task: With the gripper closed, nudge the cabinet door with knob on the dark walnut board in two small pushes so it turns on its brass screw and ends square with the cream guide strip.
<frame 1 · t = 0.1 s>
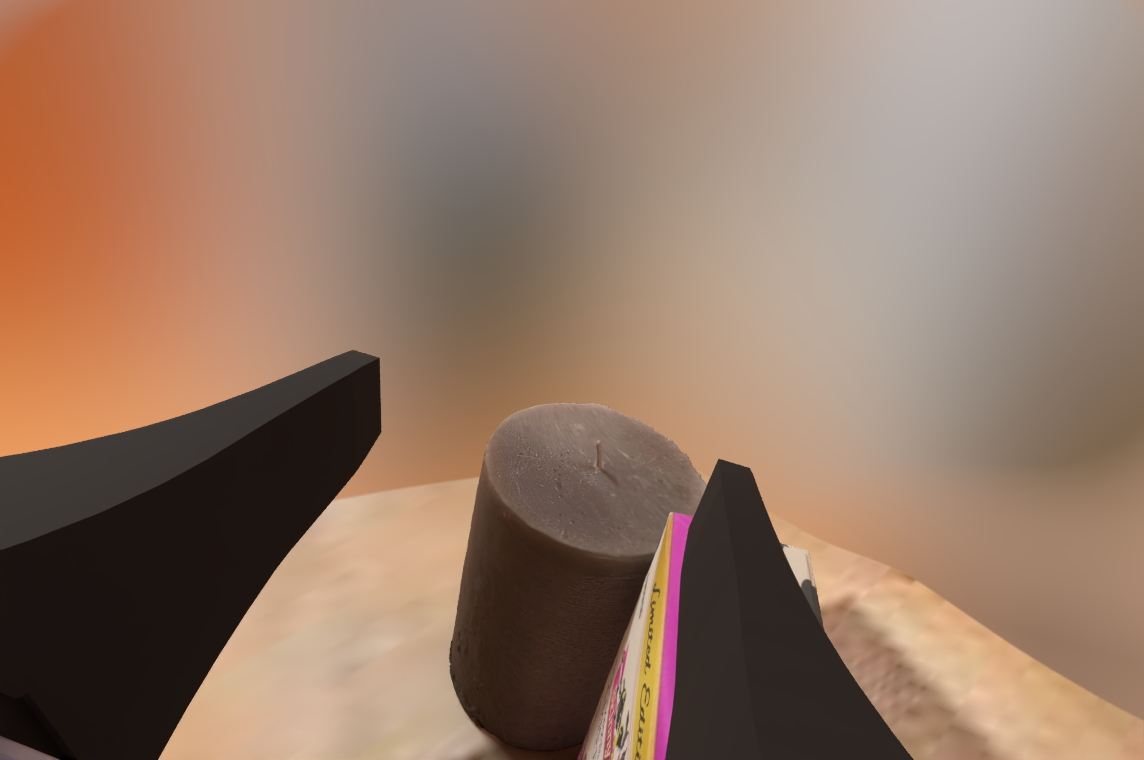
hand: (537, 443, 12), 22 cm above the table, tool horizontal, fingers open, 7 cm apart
pillar candle: (541, 658, 32), on the table
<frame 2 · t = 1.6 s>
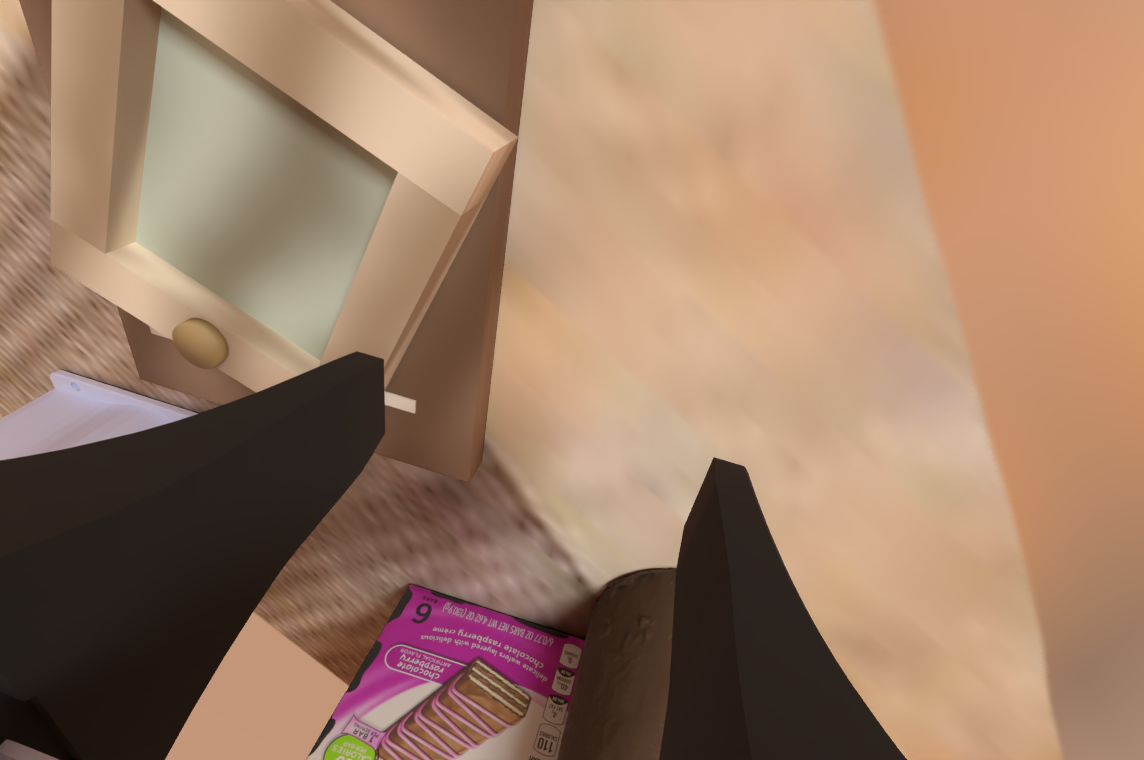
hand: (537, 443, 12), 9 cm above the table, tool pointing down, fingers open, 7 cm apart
cabinet door with knob: (251, 210, 18), point 3 cm above the table, hinge at -22.0°
pillar candle: (688, 630, 29), on the table
candy bar box: (499, 628, 33), on the table
walnut board: (298, 204, 21), on the table
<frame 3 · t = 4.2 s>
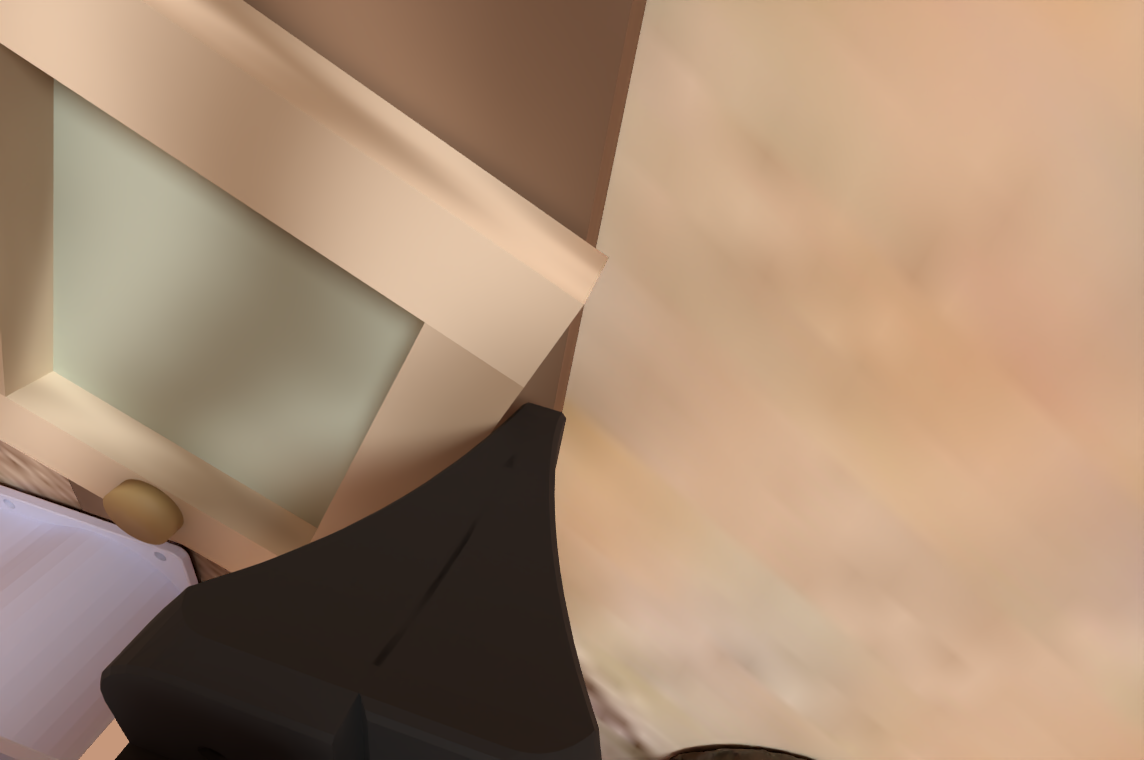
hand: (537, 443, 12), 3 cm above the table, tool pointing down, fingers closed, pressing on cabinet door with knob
cabinet door with knob: (205, 348, 13), point 3 cm above the table, hinge at -21.7°, touching gripper
walnut board: (279, 314, 16), on the table
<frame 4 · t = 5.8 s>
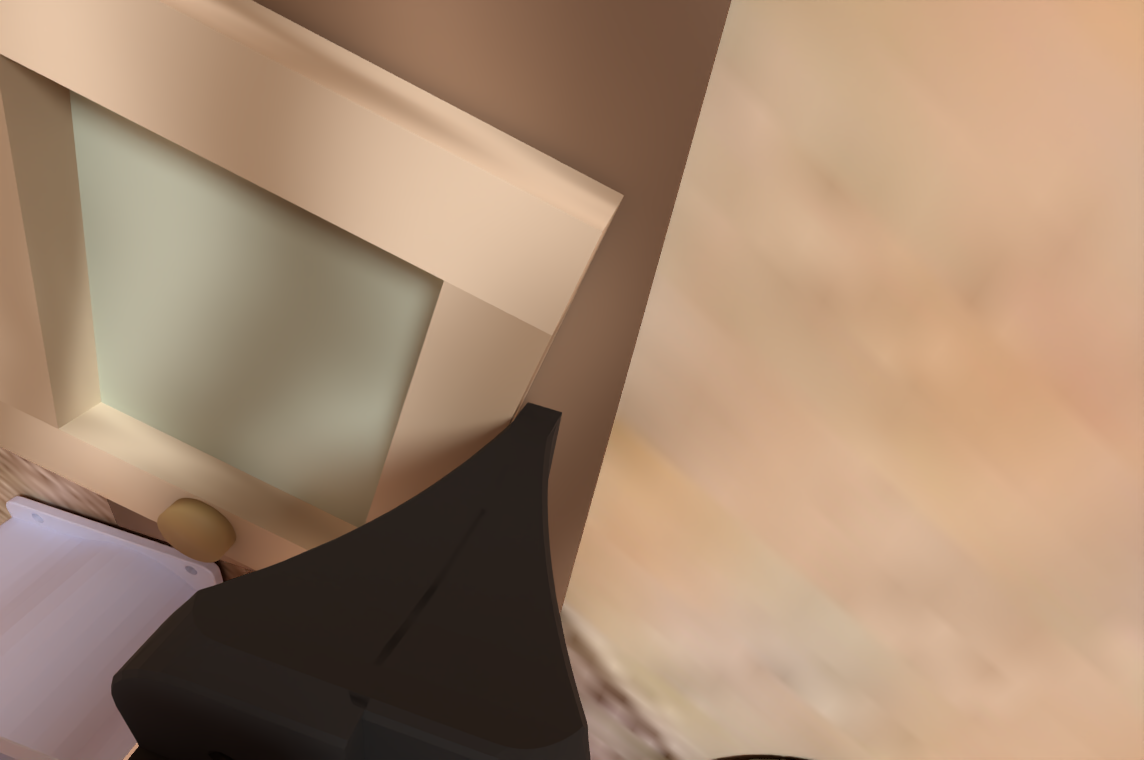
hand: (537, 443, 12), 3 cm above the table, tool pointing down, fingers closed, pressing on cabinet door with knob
cabinet door with knob: (237, 351, 13), point 3 cm above the table, hinge at -13.5°, touching gripper
walnut board: (330, 333, 16), on the table
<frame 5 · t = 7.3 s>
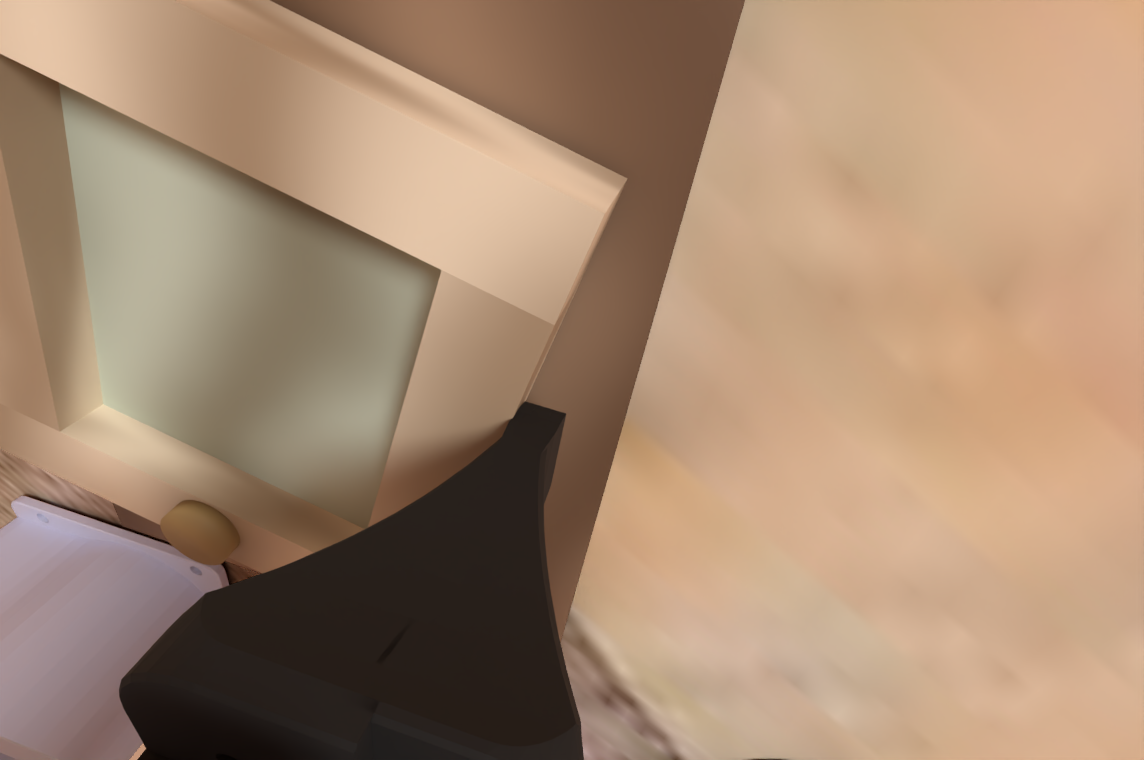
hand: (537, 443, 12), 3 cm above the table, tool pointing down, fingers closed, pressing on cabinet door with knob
cabinet door with knob: (236, 350, 12), point 3 cm above the table, hinge at -12.4°, touching gripper
walnut board: (334, 332, 15), on the table
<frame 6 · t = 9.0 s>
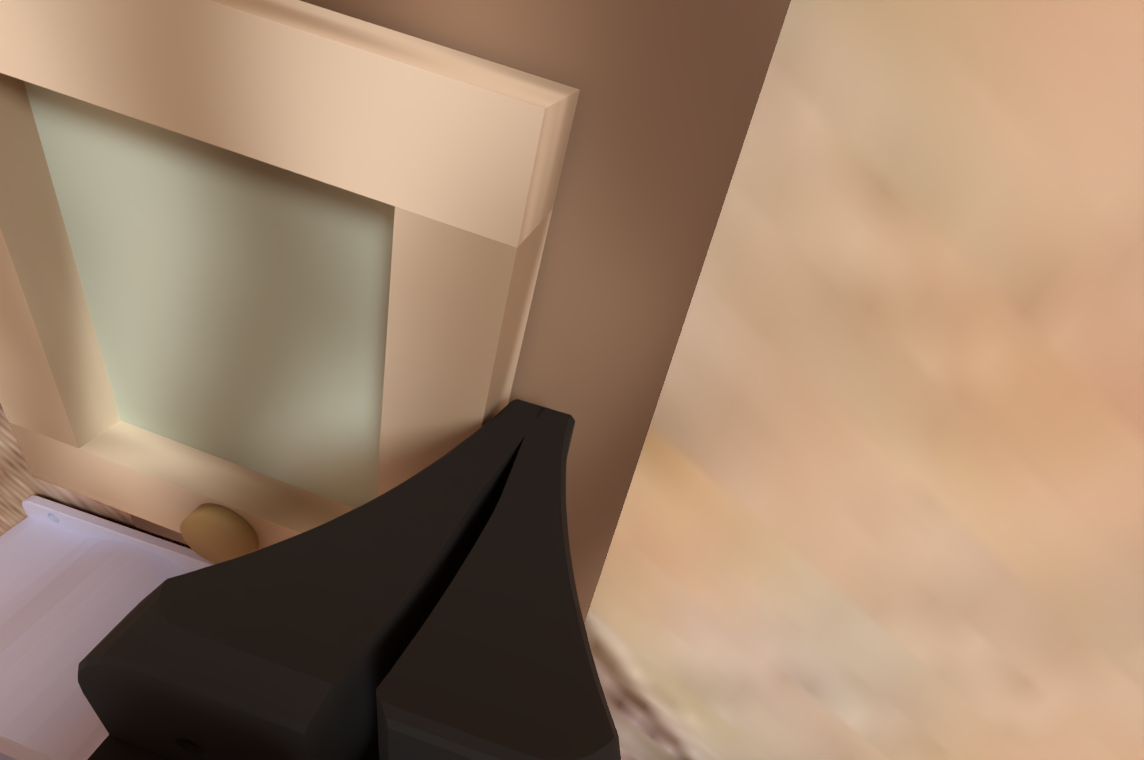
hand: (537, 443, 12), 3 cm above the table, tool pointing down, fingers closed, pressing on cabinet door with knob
cabinet door with knob: (225, 339, 12), point 3 cm above the table, hinge at -3.8°, touching gripper
walnut board: (355, 335, 15), on the table
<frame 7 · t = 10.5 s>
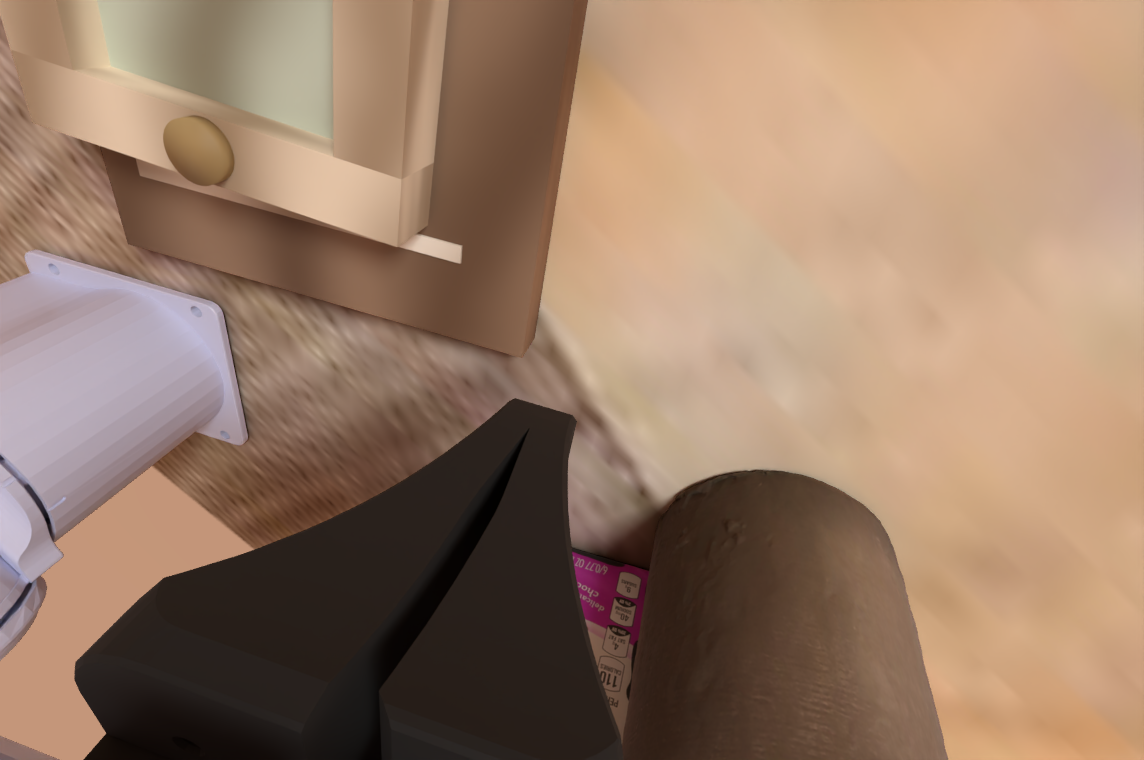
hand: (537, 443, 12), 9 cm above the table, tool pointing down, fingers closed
pillar candle: (768, 553, 25), on the table
candy bar box: (540, 561, 29), on the table
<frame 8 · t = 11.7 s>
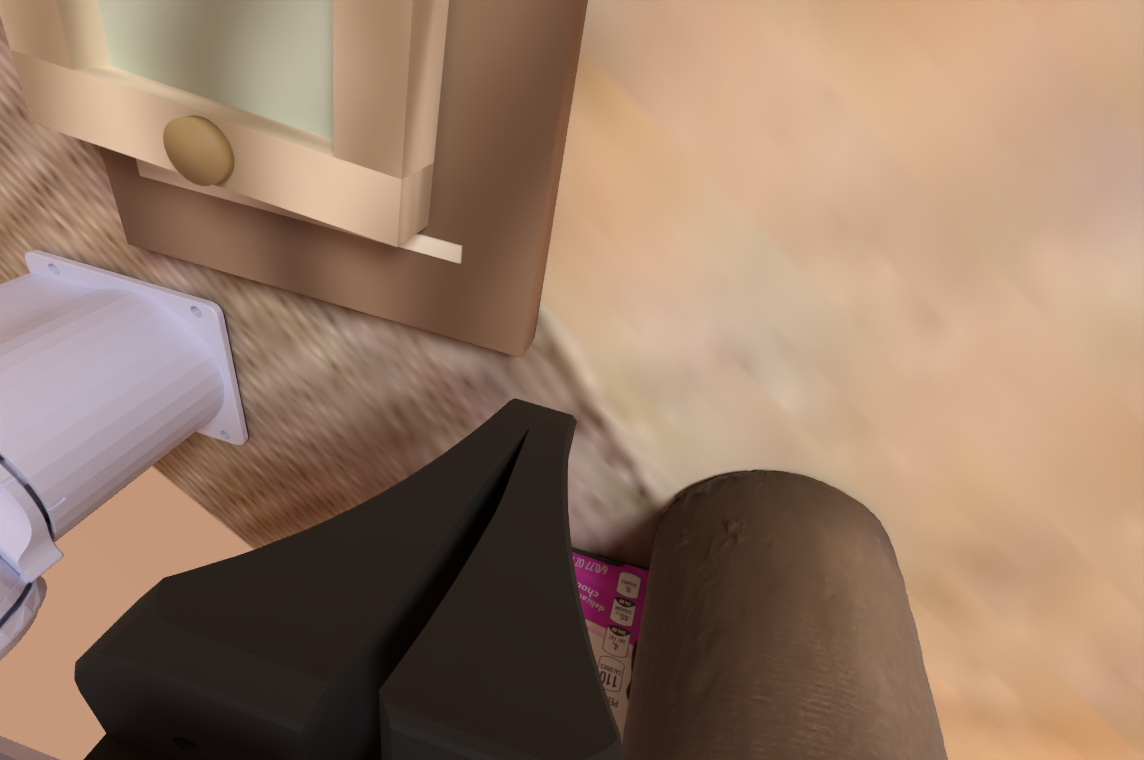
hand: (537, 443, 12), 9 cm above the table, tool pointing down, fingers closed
pillar candle: (768, 553, 25), on the table
candy bar box: (540, 561, 29), on the table
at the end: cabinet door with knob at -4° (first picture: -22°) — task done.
